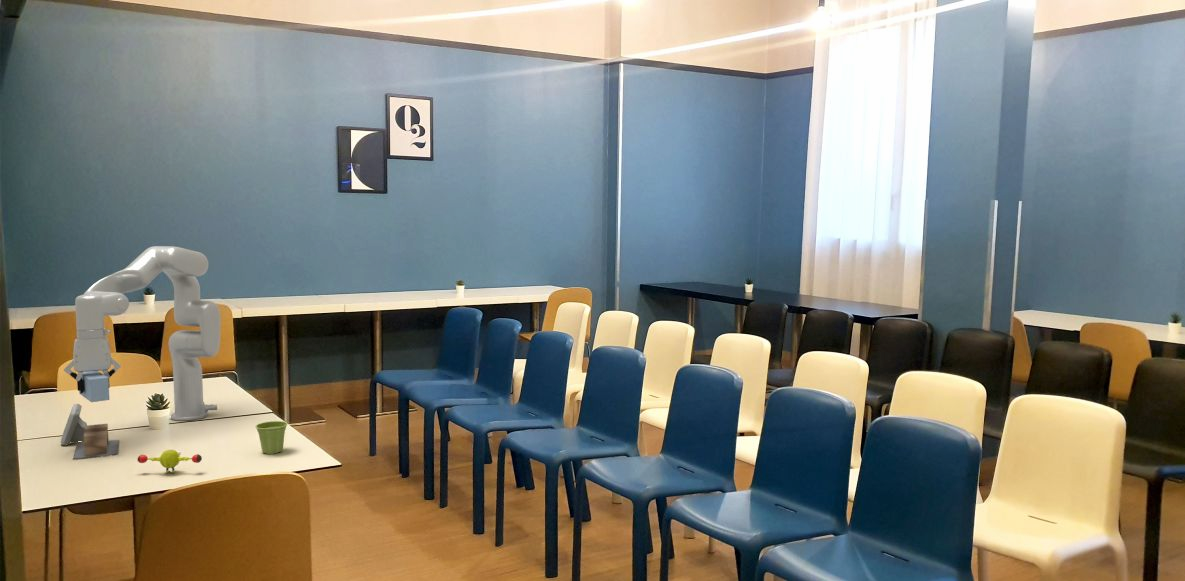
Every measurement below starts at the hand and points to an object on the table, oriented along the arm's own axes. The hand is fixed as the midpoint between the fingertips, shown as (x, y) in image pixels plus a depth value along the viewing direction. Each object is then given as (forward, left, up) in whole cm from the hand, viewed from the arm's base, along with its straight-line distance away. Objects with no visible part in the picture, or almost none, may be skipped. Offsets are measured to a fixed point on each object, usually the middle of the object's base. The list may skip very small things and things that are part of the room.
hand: (93, 391), depth 276 cm
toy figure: (-20, +36, -19) cm, 45 cm away
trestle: (0, 0, -19) cm, 19 cm away
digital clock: (+8, -17, -19) cm, 27 cm away
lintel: (0, 0, -2) cm, 2 cm away
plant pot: (-49, +26, -19) cm, 59 cm away
